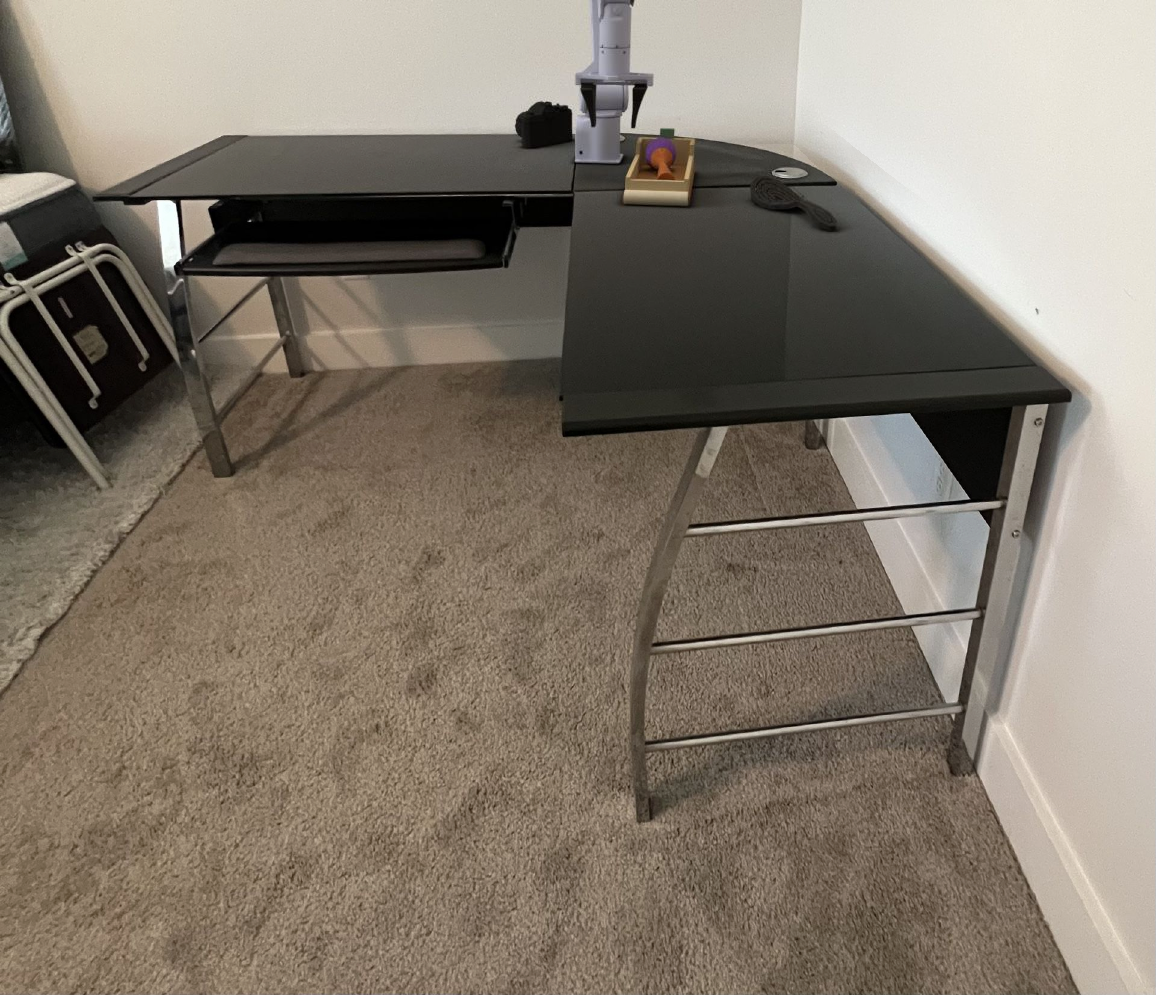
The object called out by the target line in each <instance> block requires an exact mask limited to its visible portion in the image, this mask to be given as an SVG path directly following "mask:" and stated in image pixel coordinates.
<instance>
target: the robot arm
mask: <svg viewBox="0 0 1156 995" xmlns="http://www.w3.org/2000/svg"><path fill="white" fill-rule="evenodd" d="M635 1H636V0H589V18H590V19H589V22H590V49H591V50H590V51H591V62H590V63H589V64H588V65H587V66H586V67H585V68H583V69H582V70H581V72H578V71H577V72H576V73H574V84H575V86H578V105H579V110H580V112H581V113H582V114H577V115H576V117H575V118H576V119H575V126H574V130H575V131H574V146H575V147H574V151H575V152H574V153H575V154H574V155H575V156H574V157H575V159H574V163H577V164H578V163H579V164H580V163H581V164H614V165H615V164H617V165H618V164H619V165H620V163H621V162H622V159H623V158H624V153H621V118H622V116H623V113H626V111H627V110H628V107H629V98H630V96H629V94H630V93H629V92H630V91H629V86H633V87H632V90H631V91H632V92H631V94H632V104H631V105H632V109H631V110H632V111H631V121H630V129H636V127H637V120H638V116H639V111H640V109H641V106H642V103H643V100H644V97H645V94H646V92H647V90H648V87H653V86H654V82H655V81H654V78H655V74H654V73H645V72H631V42H632V11H633V10H632V7H634V5H635Z"/></svg>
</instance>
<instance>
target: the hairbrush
mask: <svg viewBox="0 0 1156 995" xmlns="http://www.w3.org/2000/svg"><path fill="white" fill-rule="evenodd" d="M762 174H764V171H762ZM765 174H768V172H767V171H766V172H765ZM755 175H756V177H755V176H753V177H752V181H751V182H750V186H749V191H750V199H751V200H753V201H754V202H755V203H756V204H757V205H758V206H759V207H760V208H764V209H769V210H790V209H801V210H803V211H804V212H806V213H807V215H808V216H809V218H810V219H811V221H813V222H814V223H815V224H816V225H817V226H818V227H819V228H821V229H823V230H825V231H827V232H834V231H836V228H837V222H838V220H837V219H836V217H835V216H834V215H833V213H831V212H830V211H828V210H827V209H825V208H823V207H822V206H820V205H819V204H816V203H814V202H812V201H809V200H805V199H804V198H805V195H803V193H802V194H801V192H800V191H797V193H796V192H795V187H792V186H791V184H789V183H788V182H787V185H786V184H785V183H786V182H785V181H782V178H780V179H778V178H779V177H780V176H779V175H777V177H776V174H774V175H773V173H772V171H770V175H773V177H772V176H771V177H770V175H761V176H760V174H759V172H757V173H755ZM791 187H792V188H791Z"/></svg>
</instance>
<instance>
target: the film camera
mask: <svg viewBox="0 0 1156 995" xmlns="http://www.w3.org/2000/svg"><path fill="white" fill-rule="evenodd" d="M514 128H515V129H514V130H515V132H516V135H517V136H518V137H520V138H521V145H522V148H524V149H536V148H543V147H548V146H552V145H557V144H562V143H568V142H571V141H573V138H574V137H573V109H571V108H569V105H567V104H562V105H561V104H560V103H559V102H557V103H556V104H553V102H552V101H547V100H546V101H543V100H540V101H536V102H534V103H533V104H532V105H531V106H530V107H529V108H528V109H527V110H525V111H522V112H520V113H519V114H518V115H517V116H516V118H515V124H514Z"/></svg>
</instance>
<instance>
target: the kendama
mask: <svg viewBox="0 0 1156 995" xmlns="http://www.w3.org/2000/svg"><path fill="white" fill-rule="evenodd" d="M655 138H656V139H654V140H652V141H651V142H650V143H649V144H648V146H647V148H646V154H645V157H646V161H647V163H648V165H649V166H650V167H651V168H652V169H655V170H657V171H658V177H657V180H675V178H674V176H673V175H672V173H671V171H670V170H669V167H670V166H672V165H673V163H674V161H675V159H676V150H675V147H674V144H673V143H672V142H671V141H670V140H669V139H666V138H660V137H655Z"/></svg>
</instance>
